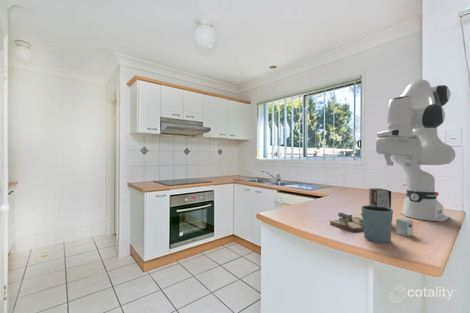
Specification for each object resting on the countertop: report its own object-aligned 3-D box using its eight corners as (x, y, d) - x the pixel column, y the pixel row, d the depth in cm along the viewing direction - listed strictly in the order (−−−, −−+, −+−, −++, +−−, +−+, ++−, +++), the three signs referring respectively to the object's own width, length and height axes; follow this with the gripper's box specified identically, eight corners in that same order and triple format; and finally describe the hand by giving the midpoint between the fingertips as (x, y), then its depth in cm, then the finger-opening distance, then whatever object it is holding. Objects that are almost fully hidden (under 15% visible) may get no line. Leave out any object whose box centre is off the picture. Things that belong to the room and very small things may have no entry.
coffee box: (391, 225, 101) (391, 190, 101) (376, 224, 102) (376, 190, 102) (382, 219, 110) (382, 188, 110) (368, 219, 111) (368, 187, 111)
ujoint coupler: (401, 232, 92) (401, 218, 92) (413, 235, 88) (413, 221, 88) (395, 233, 90) (395, 219, 90) (408, 237, 86) (408, 222, 86)
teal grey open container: (399, 242, 80) (399, 210, 80) (378, 245, 77) (378, 212, 77) (374, 233, 90) (374, 204, 90) (355, 235, 87) (355, 205, 87)
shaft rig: (358, 219, 110) (358, 205, 110) (382, 226, 99) (382, 211, 99) (328, 224, 101) (328, 209, 101) (351, 232, 90) (351, 215, 90)
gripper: (412, 136, 98) (411, 167, 97) (373, 133, 93) (372, 164, 93) (427, 134, 91) (426, 167, 91) (386, 130, 87) (385, 164, 87)
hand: (399, 166), depth 92 cm, fingers open, 8 cm apart
